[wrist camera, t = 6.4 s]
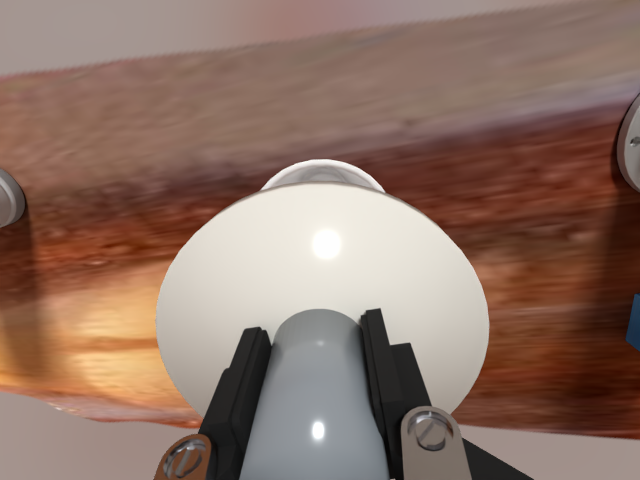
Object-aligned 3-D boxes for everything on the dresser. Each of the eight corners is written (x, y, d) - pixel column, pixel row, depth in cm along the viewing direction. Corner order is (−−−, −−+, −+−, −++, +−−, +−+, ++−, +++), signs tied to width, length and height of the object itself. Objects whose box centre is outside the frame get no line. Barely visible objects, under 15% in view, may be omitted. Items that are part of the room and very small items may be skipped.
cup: (305, 258, 35) (296, 320, 24) (252, 176, 32) (217, 208, 21) (391, 213, 33) (421, 261, 22) (344, 121, 30) (353, 128, 19)
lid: (470, 146, 10) (639, 191, 5) (481, 421, 15) (576, 616, 9) (116, 218, 11) (-86, 322, 6) (223, 452, 16) (165, 641, 10)
